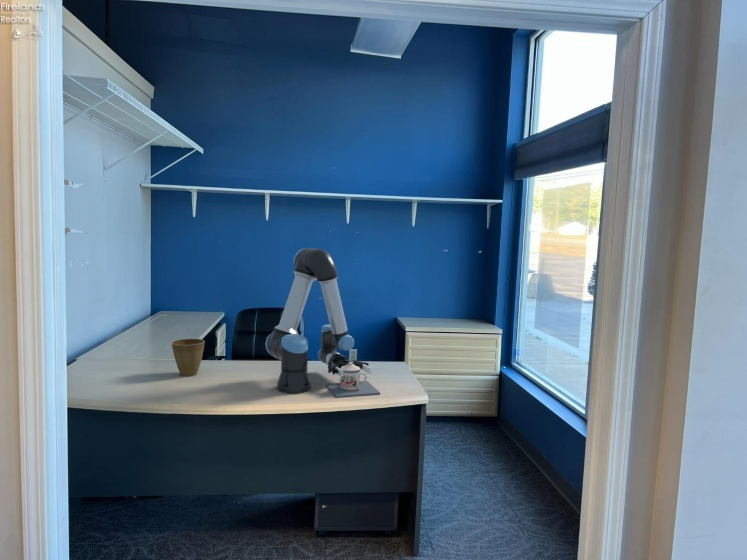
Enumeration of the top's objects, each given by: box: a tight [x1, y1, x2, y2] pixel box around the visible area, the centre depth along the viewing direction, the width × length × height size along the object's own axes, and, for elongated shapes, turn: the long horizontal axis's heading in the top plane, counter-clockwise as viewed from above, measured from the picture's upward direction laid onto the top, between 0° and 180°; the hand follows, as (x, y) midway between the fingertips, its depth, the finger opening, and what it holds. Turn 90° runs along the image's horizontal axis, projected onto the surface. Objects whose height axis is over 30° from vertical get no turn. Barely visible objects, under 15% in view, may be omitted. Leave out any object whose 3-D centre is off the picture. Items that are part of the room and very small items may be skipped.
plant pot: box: [171, 338, 205, 377], centre depth 253 cm, size 15×15×16 cm
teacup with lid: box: [339, 362, 367, 391], centre depth 236 cm, size 12×9×12 cm
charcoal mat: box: [325, 380, 381, 399], centre depth 237 cm, size 20×18×1 cm
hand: (356, 372), depth 233 cm, fingers open, 13 cm apart
